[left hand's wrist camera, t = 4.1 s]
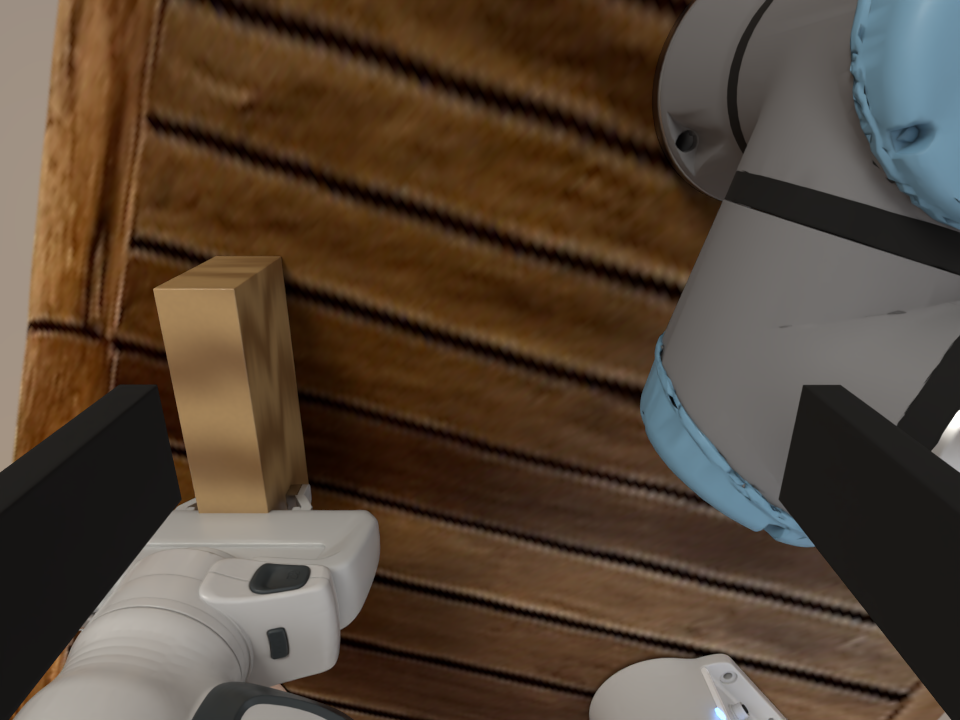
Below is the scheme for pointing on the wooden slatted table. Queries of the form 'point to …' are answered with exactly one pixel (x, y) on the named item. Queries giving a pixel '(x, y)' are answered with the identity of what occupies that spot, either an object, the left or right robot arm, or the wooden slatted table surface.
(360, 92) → the wooden slatted table surface
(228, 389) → the bar
